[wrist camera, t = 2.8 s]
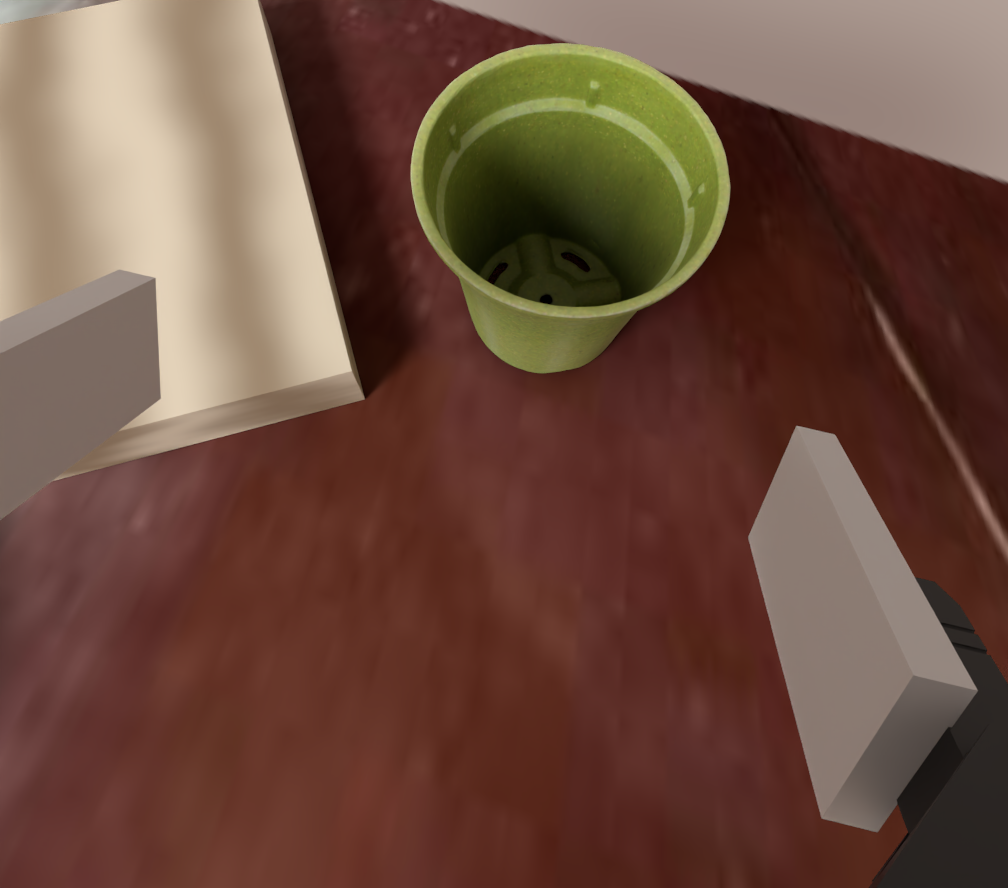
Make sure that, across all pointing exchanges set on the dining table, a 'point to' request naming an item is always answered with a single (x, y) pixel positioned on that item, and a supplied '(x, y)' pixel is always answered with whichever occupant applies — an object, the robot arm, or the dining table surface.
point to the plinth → (173, 208)
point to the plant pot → (567, 195)
